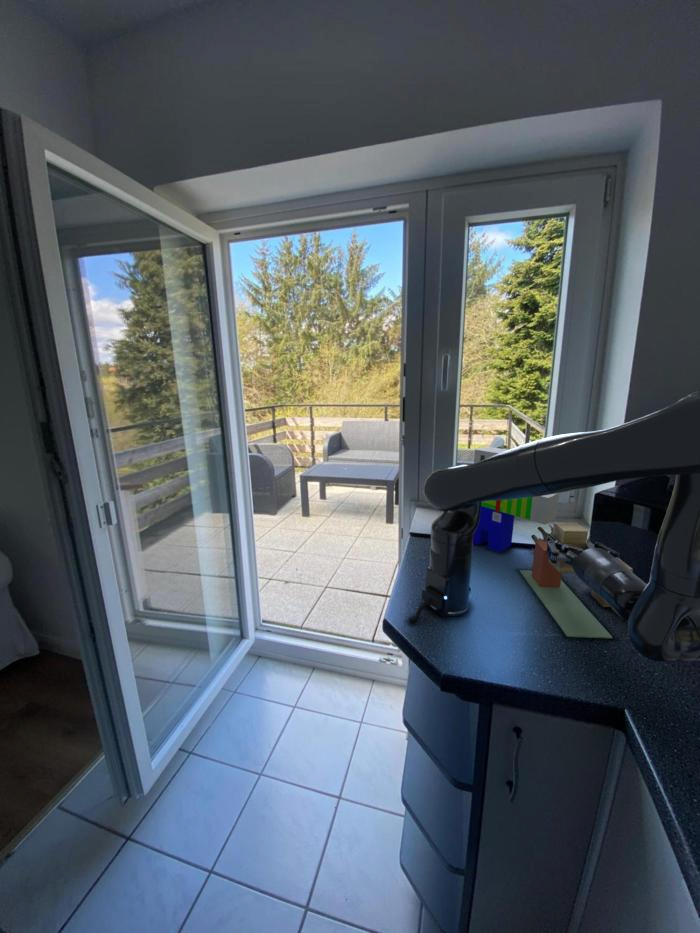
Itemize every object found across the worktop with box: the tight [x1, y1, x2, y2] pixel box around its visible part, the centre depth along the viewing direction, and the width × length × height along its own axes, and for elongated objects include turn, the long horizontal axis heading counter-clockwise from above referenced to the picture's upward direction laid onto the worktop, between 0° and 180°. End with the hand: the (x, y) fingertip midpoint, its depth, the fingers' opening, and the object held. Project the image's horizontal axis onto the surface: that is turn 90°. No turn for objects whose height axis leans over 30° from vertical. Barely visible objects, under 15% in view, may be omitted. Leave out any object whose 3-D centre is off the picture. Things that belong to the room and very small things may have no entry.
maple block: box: [549, 521, 589, 573], centre depth 85 cm, size 5×5×10 cm
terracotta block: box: [531, 542, 563, 587], centre depth 95 cm, size 5×5×10 cm
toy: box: [473, 446, 560, 553], centre depth 114 cm, size 34×7×30 cm, turn 40°
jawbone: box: [530, 524, 589, 552], centre depth 109 cm, size 9×15×10 cm
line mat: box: [519, 569, 613, 639], centre depth 89 cm, size 26×9×1 cm, turn 176°
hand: (562, 538), depth 87 cm, fingers closed on maple block, 5 cm apart
